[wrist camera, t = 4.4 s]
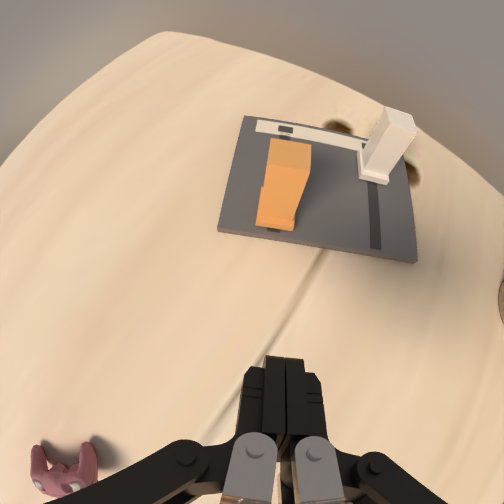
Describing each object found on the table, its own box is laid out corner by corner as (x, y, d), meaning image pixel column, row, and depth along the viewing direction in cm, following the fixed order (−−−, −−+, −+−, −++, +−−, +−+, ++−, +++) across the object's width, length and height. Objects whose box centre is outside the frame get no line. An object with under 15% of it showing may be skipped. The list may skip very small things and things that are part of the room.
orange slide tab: (295, 196, 32) (314, 139, 23) (292, 231, 31) (313, 179, 22) (260, 191, 32) (268, 131, 23) (255, 225, 31) (262, 170, 22)
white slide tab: (382, 160, 36) (412, 112, 27) (386, 185, 34) (420, 137, 25) (356, 153, 36) (382, 101, 27) (358, 178, 34) (388, 127, 25)
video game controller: (53, 467, 21) (38, 501, 14) (32, 441, 21) (13, 475, 14) (111, 464, 23) (102, 506, 16) (90, 437, 22) (74, 479, 15)
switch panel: (399, 153, 38) (402, 148, 37) (413, 263, 32) (418, 260, 31) (243, 120, 38) (244, 114, 37) (217, 231, 32) (217, 227, 31)
